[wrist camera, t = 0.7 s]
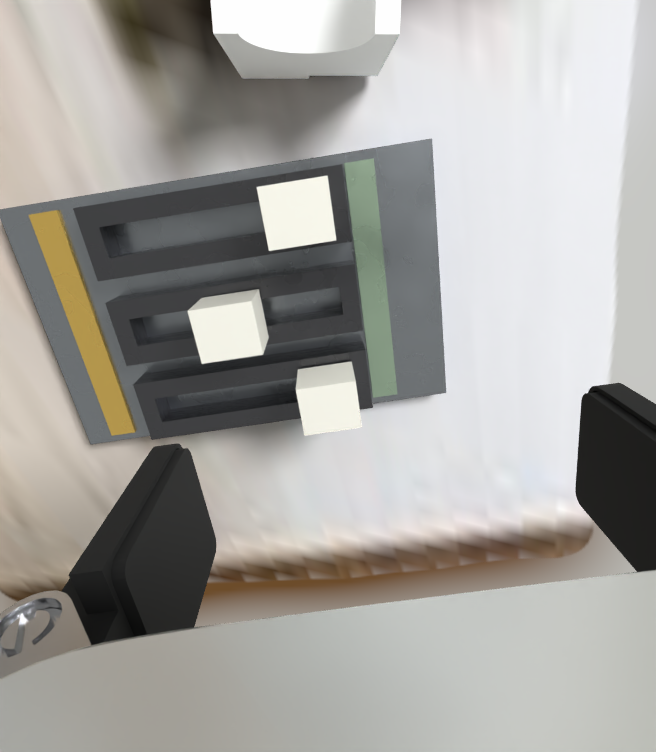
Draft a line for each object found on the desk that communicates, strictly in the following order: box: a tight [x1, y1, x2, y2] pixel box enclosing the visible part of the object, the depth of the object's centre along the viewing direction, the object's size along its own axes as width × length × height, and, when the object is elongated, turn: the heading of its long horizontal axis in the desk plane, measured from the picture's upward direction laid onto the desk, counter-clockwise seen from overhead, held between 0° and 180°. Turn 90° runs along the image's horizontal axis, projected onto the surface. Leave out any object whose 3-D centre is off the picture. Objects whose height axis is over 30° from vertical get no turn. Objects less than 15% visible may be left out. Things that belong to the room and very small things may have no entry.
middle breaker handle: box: [188, 289, 269, 364], centre depth 25 cm, size 3×3×5 cm
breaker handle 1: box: [257, 176, 336, 251], centre depth 23 cm, size 3×3×5 cm
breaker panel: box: [0, 139, 446, 444], centre depth 27 cm, size 15×24×3 cm, turn 99°
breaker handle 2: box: [296, 361, 362, 436], centre depth 27 cm, size 3×3×5 cm
